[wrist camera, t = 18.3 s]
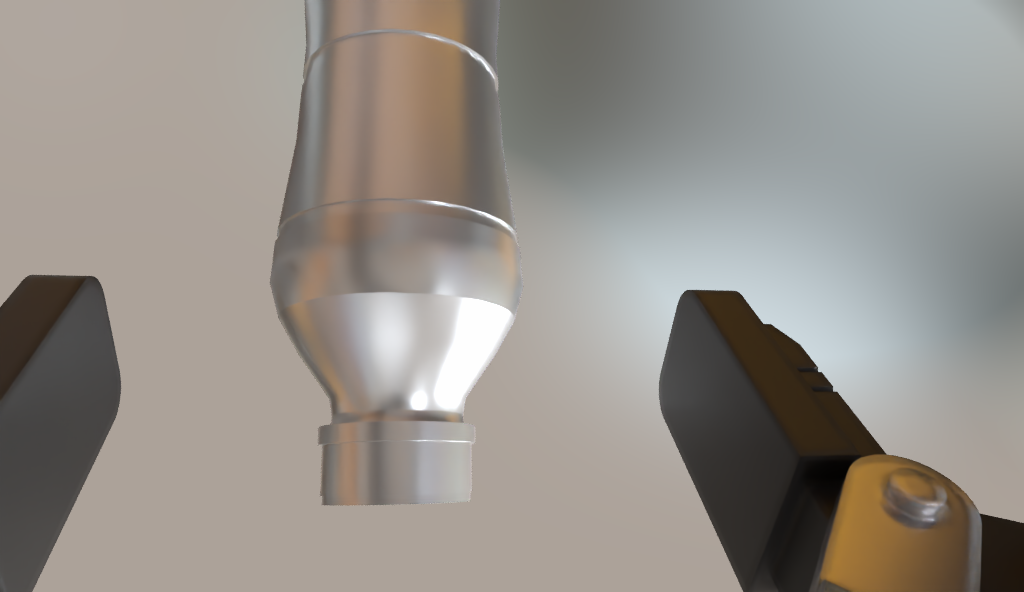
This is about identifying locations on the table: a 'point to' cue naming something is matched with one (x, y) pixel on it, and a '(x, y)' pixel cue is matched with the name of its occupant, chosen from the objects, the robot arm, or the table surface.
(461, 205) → the silver metal bottle
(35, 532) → the robot arm
